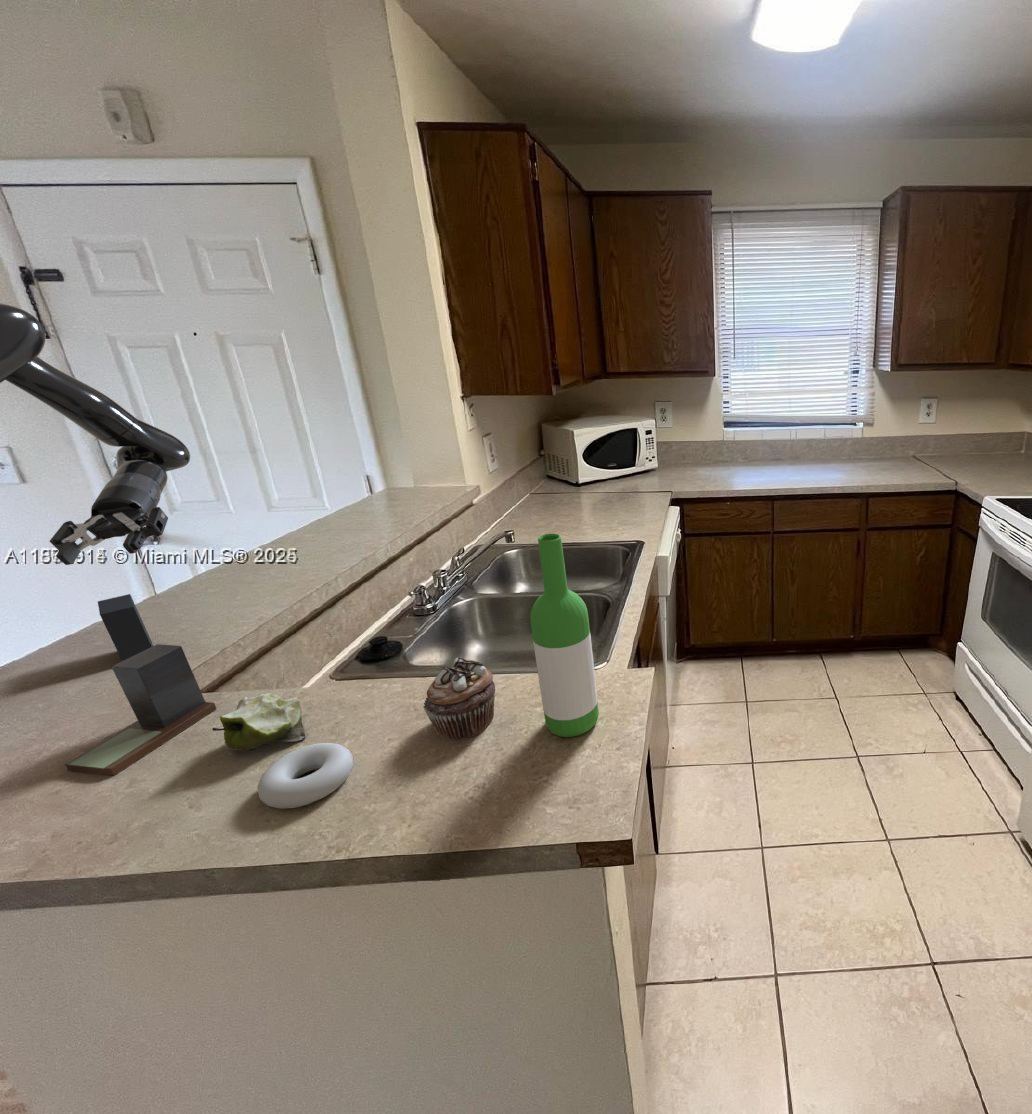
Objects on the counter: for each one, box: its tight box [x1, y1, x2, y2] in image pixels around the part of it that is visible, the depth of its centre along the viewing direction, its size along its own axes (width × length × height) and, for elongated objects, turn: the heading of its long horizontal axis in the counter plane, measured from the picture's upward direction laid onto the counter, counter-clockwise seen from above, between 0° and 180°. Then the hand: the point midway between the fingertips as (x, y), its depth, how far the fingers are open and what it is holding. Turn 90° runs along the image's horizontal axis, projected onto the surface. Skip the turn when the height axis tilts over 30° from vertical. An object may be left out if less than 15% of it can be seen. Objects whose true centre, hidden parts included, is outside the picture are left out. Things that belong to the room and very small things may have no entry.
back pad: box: [97, 593, 154, 662], centre depth 99 cm, size 7×4×10 cm, turn 48°
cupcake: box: [423, 656, 496, 741], centre depth 83 cm, size 10×10×10 cm
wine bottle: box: [530, 533, 600, 738], centre depth 80 cm, size 8×8×30 cm
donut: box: [257, 742, 354, 810], centre depth 73 cm, size 10×3×10 cm
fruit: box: [211, 692, 306, 752], centre depth 80 cm, size 9×9×8 cm
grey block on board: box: [64, 643, 217, 776], centre depth 79 cm, size 7×14×11 cm, turn 173°
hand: (97, 555), depth 96 cm, fingers open, 8 cm apart
